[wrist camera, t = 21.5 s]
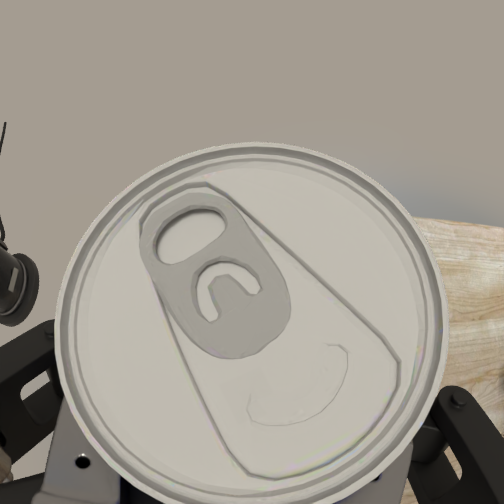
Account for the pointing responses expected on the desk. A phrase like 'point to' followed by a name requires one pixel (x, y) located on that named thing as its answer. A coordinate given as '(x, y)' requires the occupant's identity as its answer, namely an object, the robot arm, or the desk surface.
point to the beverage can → (252, 328)
